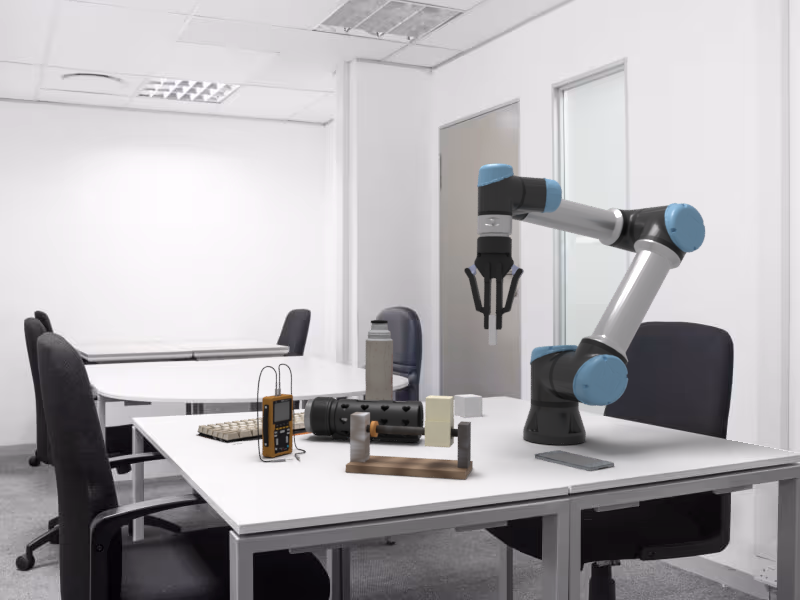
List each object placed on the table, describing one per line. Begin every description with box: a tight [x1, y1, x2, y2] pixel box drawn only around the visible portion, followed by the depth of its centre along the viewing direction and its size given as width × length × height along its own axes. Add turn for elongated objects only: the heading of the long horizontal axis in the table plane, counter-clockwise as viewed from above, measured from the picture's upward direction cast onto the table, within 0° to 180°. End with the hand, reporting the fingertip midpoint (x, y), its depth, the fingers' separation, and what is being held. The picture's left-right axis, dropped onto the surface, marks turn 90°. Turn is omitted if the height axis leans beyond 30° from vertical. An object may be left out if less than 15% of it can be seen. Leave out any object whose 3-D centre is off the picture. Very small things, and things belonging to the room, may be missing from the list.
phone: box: [534, 449, 615, 472], centre depth 167 cm, size 8×16×1 cm, turn 36°
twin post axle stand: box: [345, 412, 474, 480], centre depth 158 cm, size 24×10×11 cm, turn 77°
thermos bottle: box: [364, 319, 394, 401], centre depth 228 cm, size 8×8×28 cm
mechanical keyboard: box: [196, 411, 311, 446], centre depth 203 cm, size 38×19×3 cm, turn 134°
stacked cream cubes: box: [424, 395, 455, 448], centre depth 157 cm, size 5×5×10 cm
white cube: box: [453, 393, 483, 419], centre depth 230 cm, size 6×6×6 cm
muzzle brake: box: [303, 396, 425, 443], centre depth 190 cm, size 10×28×10 cm, turn 78°
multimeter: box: [256, 363, 306, 463], centre depth 170 cm, size 15×10×20 cm
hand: (492, 344), depth 170 cm, fingers closed
